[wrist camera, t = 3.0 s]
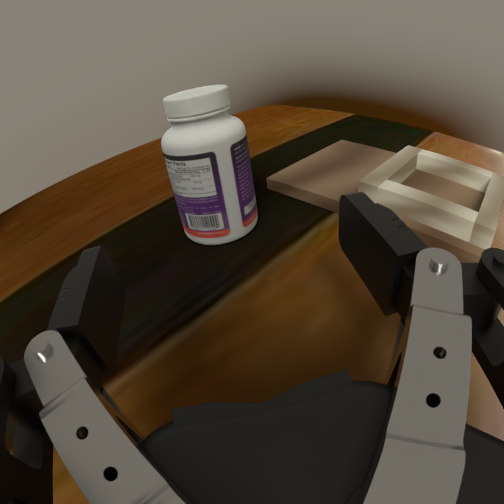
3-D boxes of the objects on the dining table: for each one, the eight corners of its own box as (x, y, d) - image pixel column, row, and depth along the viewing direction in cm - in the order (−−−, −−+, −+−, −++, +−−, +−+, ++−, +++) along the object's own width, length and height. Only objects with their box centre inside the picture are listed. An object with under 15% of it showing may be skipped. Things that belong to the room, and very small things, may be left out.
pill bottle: (233, 199, 26) (213, 81, 20) (273, 225, 22) (257, 83, 17) (173, 225, 24) (141, 101, 18) (204, 258, 20) (168, 105, 14)
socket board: (267, 188, 27) (264, 161, 25) (341, 148, 33) (341, 126, 31) (481, 272, 16) (493, 239, 14) (502, 199, 22) (508, 174, 20)
